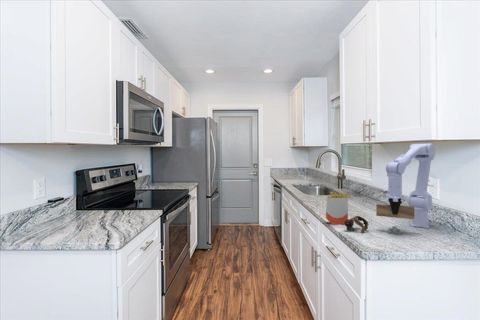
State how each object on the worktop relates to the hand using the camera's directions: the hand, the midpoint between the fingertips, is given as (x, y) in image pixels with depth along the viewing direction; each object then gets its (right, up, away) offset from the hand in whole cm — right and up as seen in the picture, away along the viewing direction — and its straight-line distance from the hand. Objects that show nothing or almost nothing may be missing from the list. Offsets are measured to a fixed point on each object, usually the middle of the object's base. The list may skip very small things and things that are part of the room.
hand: (394, 213), depth 128 cm
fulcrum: (0, -9, 0) cm, 9 cm away
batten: (0, -2, 0) cm, 2 cm away
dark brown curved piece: (-18, -10, +5) cm, 21 cm away
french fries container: (-23, -9, +17) cm, 30 cm away
